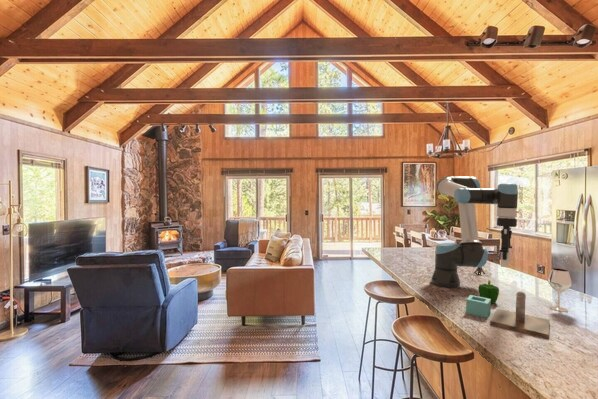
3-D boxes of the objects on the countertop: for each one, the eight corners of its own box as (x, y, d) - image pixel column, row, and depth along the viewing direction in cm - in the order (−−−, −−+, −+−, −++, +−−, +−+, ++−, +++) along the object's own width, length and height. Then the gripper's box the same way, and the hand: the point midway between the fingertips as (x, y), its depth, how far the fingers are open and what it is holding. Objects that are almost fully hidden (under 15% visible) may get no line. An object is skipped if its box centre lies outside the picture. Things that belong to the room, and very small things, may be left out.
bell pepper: (493, 306, 144) (493, 284, 144) (475, 300, 151) (475, 280, 151) (502, 302, 149) (502, 282, 148) (484, 297, 156) (485, 278, 155)
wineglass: (565, 313, 136) (566, 272, 136) (543, 307, 144) (544, 268, 143) (574, 310, 140) (575, 271, 140) (552, 304, 147) (553, 267, 147)
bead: (465, 313, 135) (466, 299, 134) (469, 308, 141) (470, 294, 141) (487, 318, 129) (487, 303, 129) (490, 312, 136) (490, 298, 136)
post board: (490, 324, 123) (491, 291, 123) (496, 311, 137) (497, 282, 136) (548, 338, 111) (549, 302, 111) (549, 323, 125) (550, 291, 125)
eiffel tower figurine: (467, 275, 203) (468, 254, 202) (465, 271, 212) (466, 252, 212) (494, 277, 197) (495, 256, 197) (491, 274, 207) (491, 254, 206)
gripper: (515, 219, 129) (514, 270, 129) (518, 217, 149) (516, 261, 149) (494, 218, 133) (492, 267, 133) (499, 216, 153) (498, 259, 153)
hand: (505, 264), depth 141 cm, fingers open, 13 cm apart
